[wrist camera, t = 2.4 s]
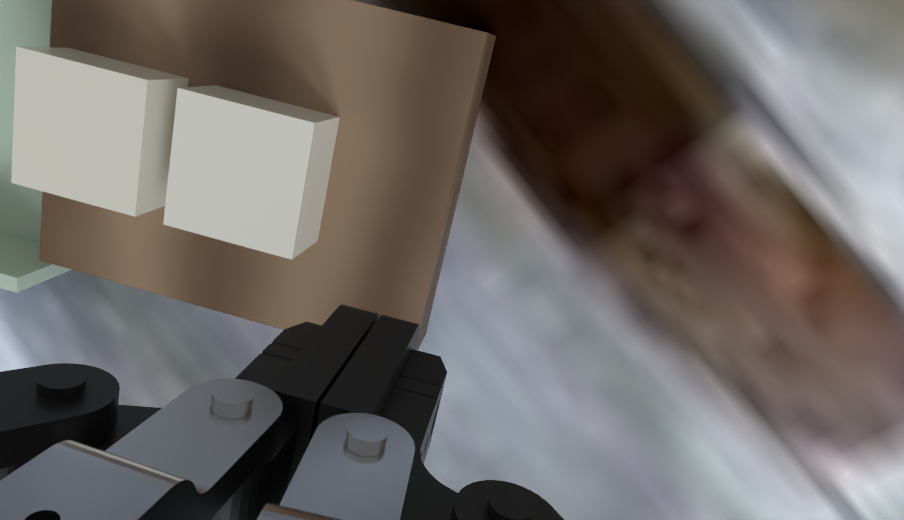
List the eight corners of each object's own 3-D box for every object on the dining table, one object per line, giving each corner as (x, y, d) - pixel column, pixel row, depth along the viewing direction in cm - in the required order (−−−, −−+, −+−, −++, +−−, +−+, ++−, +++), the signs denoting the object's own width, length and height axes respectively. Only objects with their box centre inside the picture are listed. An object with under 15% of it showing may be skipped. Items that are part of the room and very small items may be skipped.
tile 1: (340, 116, 24) (314, 123, 21) (317, 241, 25) (291, 259, 23) (215, 85, 24) (177, 87, 22) (200, 209, 25) (163, 224, 23)
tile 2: (188, 78, 24) (147, 80, 22) (175, 202, 25) (135, 216, 23) (69, 48, 24) (16, 46, 22) (61, 171, 26) (11, 182, 23)
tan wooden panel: (496, 36, 25) (487, 32, 22) (425, 334, 29) (409, 365, 26) (110, -57, 26) (55, -72, 23) (89, 241, 30) (38, 260, 27)
